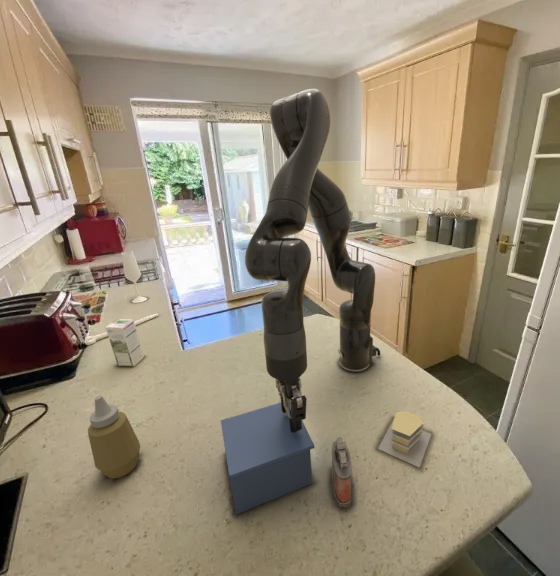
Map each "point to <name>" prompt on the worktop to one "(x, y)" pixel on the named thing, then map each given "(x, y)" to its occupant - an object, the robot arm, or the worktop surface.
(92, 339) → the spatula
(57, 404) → the worktop surface
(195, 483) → the worktop surface
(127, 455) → the squeeze bottle
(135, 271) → the champagne flute
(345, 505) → the lighter
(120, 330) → the syrup box
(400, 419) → the stacked layers on plate
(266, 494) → the box
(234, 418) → the blue box lid
